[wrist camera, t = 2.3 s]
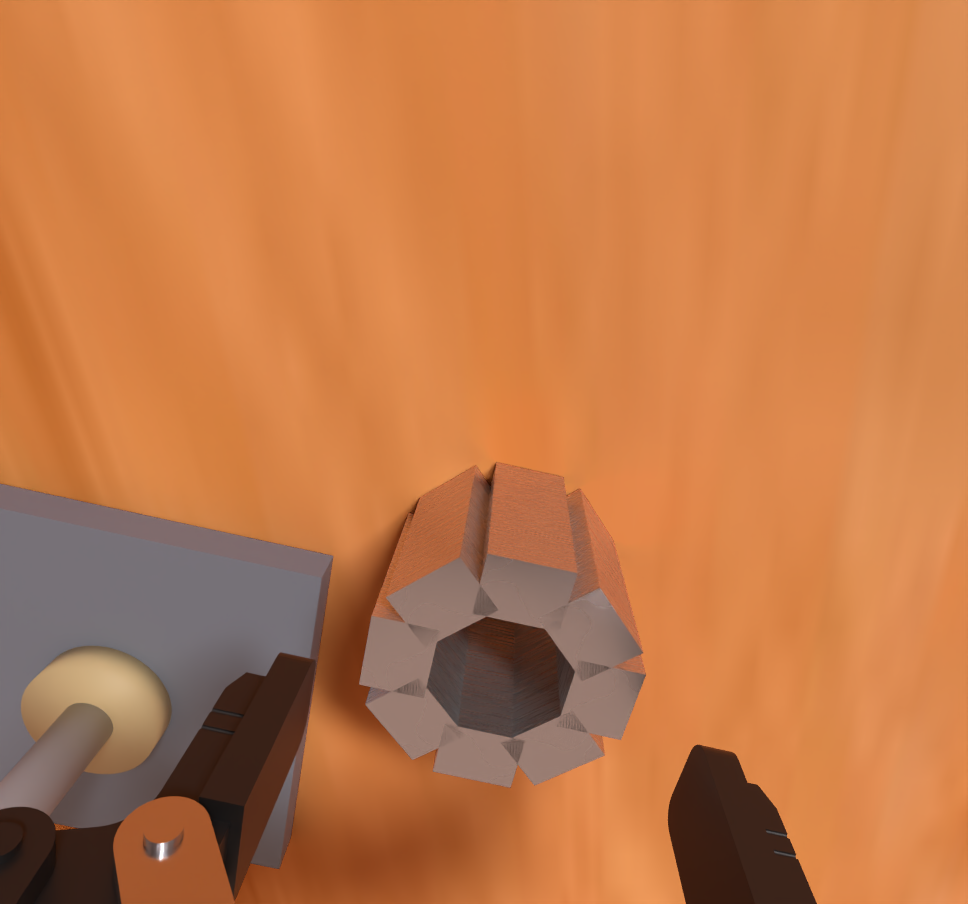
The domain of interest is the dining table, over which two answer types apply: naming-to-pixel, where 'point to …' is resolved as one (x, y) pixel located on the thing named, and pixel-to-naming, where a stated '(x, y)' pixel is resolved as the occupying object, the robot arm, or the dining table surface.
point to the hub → (503, 631)
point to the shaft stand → (134, 650)
